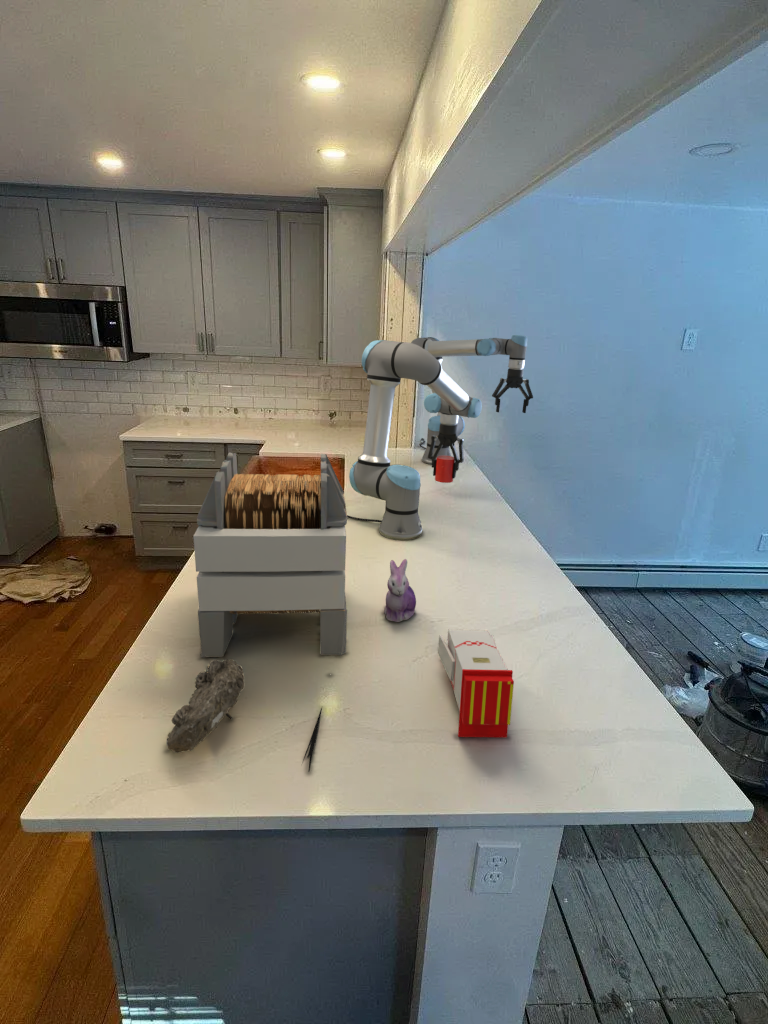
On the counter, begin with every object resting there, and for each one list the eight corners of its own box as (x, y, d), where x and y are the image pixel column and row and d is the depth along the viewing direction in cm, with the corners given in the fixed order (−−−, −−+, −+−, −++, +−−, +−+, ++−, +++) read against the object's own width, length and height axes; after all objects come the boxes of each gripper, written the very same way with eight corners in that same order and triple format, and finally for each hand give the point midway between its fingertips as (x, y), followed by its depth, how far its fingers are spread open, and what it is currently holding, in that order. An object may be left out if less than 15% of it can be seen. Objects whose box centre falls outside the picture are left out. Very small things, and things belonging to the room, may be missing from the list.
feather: (331, 679, 122) (336, 673, 122) (307, 777, 96) (313, 769, 95) (324, 675, 122) (329, 669, 121) (298, 772, 95) (304, 764, 95)
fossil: (192, 660, 117) (244, 628, 112) (224, 691, 120) (276, 661, 115) (142, 746, 98) (202, 712, 93) (182, 779, 101) (242, 748, 96)
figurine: (392, 627, 141) (395, 572, 136) (374, 608, 149) (376, 556, 144) (425, 619, 145) (429, 566, 140) (405, 601, 154) (408, 550, 149)
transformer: (222, 587, 156) (213, 443, 143) (341, 586, 160) (343, 445, 146) (198, 659, 125) (184, 483, 111) (346, 655, 129) (350, 484, 115)
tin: (455, 479, 246) (457, 457, 243) (449, 483, 240) (452, 460, 236) (438, 476, 249) (440, 454, 246) (432, 481, 242) (434, 458, 239)
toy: (488, 613, 130) (523, 677, 101) (484, 667, 133) (517, 744, 104) (435, 612, 130) (455, 676, 101) (432, 666, 133) (451, 743, 103)
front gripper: (475, 425, 236) (469, 477, 244) (427, 419, 243) (423, 471, 250) (471, 427, 230) (465, 481, 237) (422, 422, 236) (418, 475, 244)
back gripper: (493, 368, 270) (488, 413, 277) (543, 370, 273) (537, 414, 280) (488, 366, 277) (484, 410, 284) (537, 368, 280) (532, 411, 287)
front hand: (444, 476), depth 244 cm, fingers closed on tin, 8 cm apart
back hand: (510, 412), depth 282 cm, fingers open, 13 cm apart
